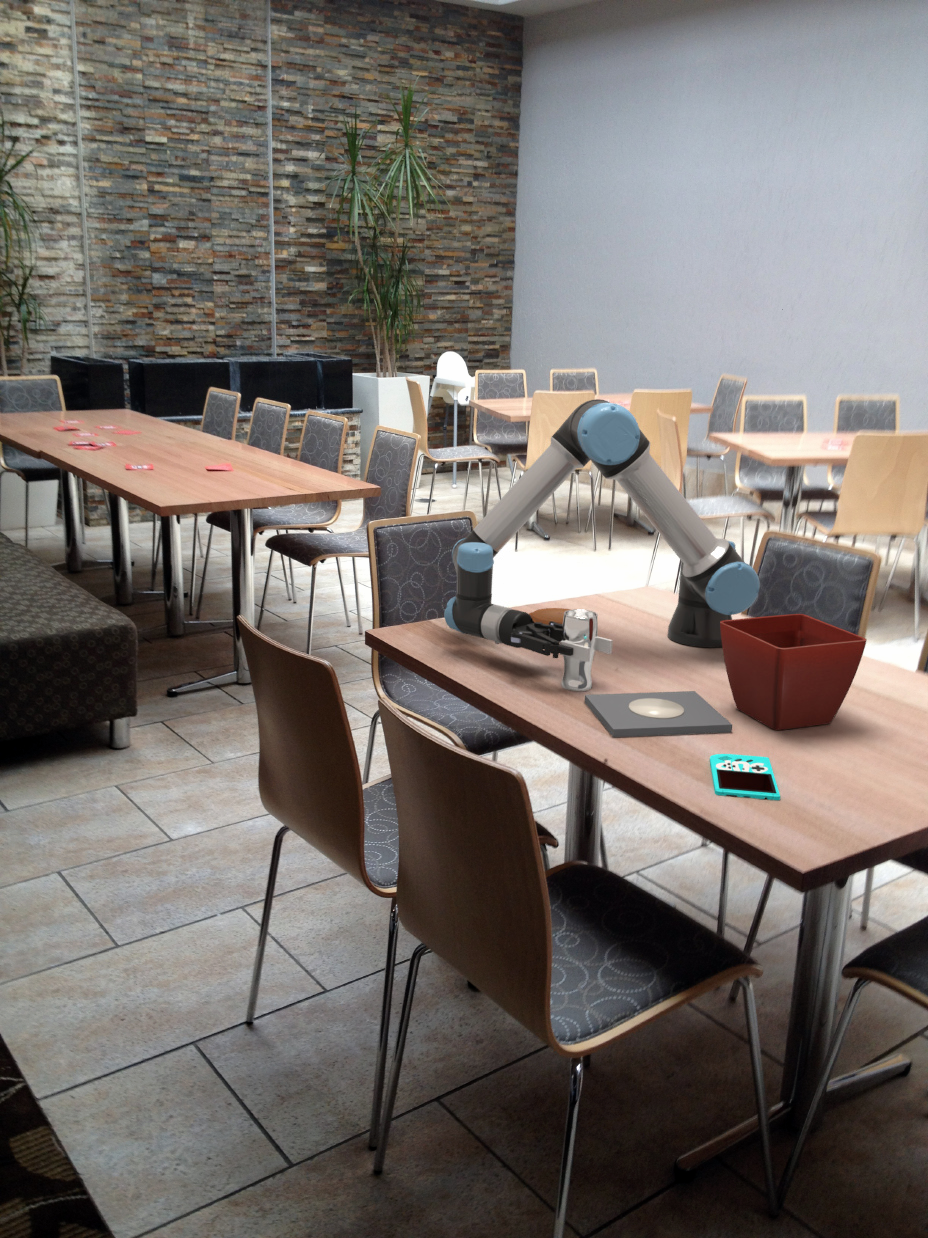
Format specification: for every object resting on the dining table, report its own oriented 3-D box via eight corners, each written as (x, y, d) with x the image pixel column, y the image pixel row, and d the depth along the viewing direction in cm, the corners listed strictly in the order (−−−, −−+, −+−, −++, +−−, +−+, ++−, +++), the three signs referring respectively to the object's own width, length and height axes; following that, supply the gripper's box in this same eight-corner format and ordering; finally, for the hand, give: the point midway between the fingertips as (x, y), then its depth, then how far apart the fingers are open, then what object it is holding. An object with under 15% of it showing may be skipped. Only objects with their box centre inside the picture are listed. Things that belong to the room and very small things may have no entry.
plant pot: (709, 704, 209) (717, 619, 205) (792, 694, 216) (802, 612, 211) (770, 740, 192) (780, 648, 187) (858, 728, 199) (870, 639, 194)
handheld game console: (769, 763, 183) (770, 756, 183) (781, 804, 168) (782, 795, 168) (708, 758, 185) (709, 751, 184) (714, 798, 169) (715, 790, 169)
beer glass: (594, 681, 220) (598, 609, 216) (594, 693, 213) (599, 619, 209) (559, 679, 221) (563, 608, 216) (558, 691, 214) (562, 617, 210)
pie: (595, 644, 246) (596, 623, 244) (526, 642, 246) (526, 621, 244) (588, 625, 260) (589, 605, 259) (523, 623, 261) (524, 603, 259)
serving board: (693, 698, 212) (694, 689, 212) (731, 732, 195) (732, 723, 194) (584, 702, 208) (584, 693, 208) (613, 737, 191) (613, 727, 191)
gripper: (537, 634, 234) (627, 658, 220) (476, 653, 220) (568, 680, 205) (538, 601, 232) (629, 622, 217) (477, 617, 218) (570, 642, 203)
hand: (599, 650), depth 211 cm, fingers closed on beer glass, 7 cm apart
